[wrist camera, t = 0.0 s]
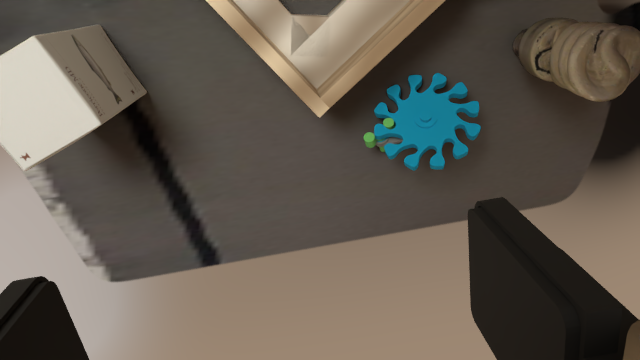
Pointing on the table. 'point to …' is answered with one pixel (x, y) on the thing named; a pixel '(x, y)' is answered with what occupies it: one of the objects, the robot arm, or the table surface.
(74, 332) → the robot arm
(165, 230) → the table surface
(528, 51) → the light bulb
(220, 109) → the table surface
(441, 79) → the gear
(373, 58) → the bore box
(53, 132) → the supplement box
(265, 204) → the table surface
